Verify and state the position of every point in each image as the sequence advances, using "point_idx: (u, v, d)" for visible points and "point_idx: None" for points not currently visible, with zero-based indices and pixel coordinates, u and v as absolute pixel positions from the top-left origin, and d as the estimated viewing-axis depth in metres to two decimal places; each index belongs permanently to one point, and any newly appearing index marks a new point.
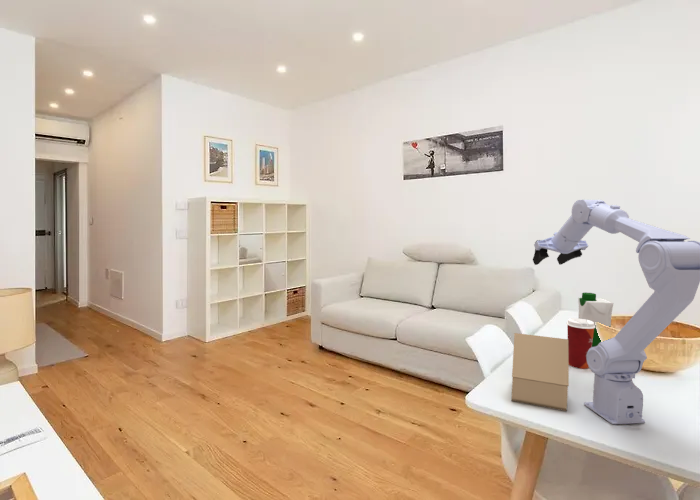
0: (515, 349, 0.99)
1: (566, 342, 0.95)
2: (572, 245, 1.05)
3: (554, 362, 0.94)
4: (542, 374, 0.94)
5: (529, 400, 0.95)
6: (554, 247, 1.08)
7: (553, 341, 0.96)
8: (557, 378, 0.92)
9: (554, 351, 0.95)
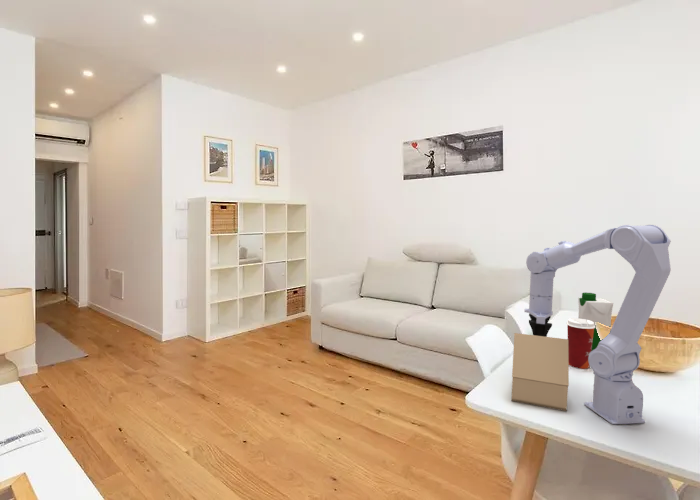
0: (515, 349, 0.99)
1: (566, 342, 0.95)
2: None
3: (554, 362, 0.94)
4: (542, 374, 0.94)
5: (529, 400, 0.95)
6: (545, 314, 1.05)
7: (553, 341, 0.96)
8: (557, 378, 0.92)
9: (554, 351, 0.95)
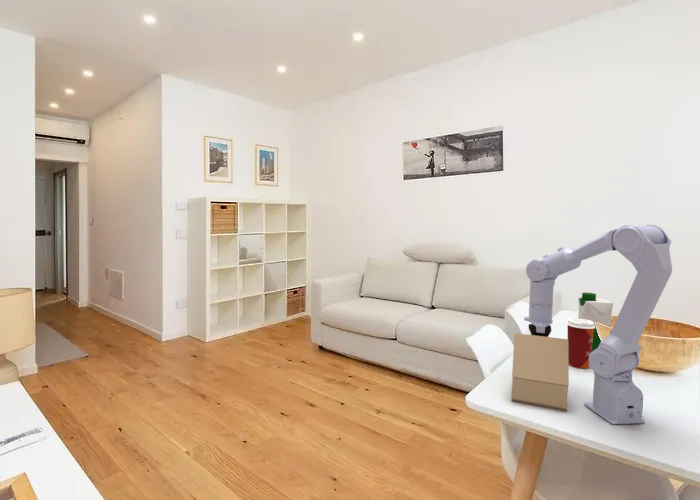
0: (515, 349, 0.99)
1: (566, 342, 0.95)
2: None
3: (554, 362, 0.94)
4: (542, 374, 0.94)
5: (529, 400, 0.95)
6: (545, 322, 1.04)
7: (553, 341, 0.96)
8: (557, 378, 0.92)
9: (554, 351, 0.95)
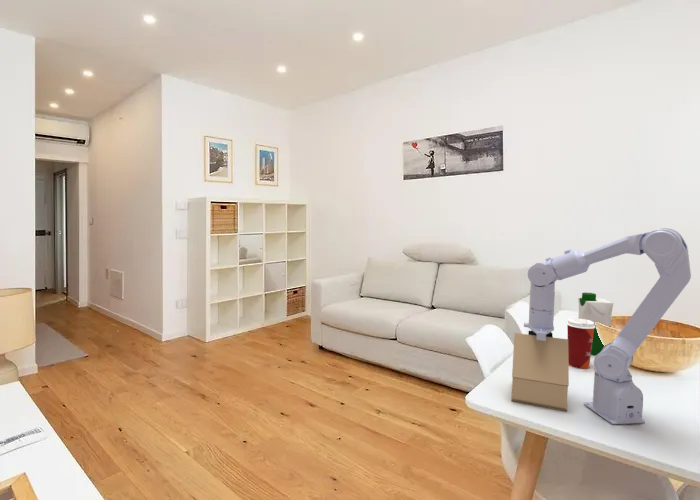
0: (515, 349, 0.99)
1: (566, 342, 0.95)
2: (553, 315, 0.99)
3: (554, 362, 0.94)
4: (542, 374, 0.94)
5: (529, 400, 0.95)
6: (546, 329, 0.98)
7: (553, 341, 0.96)
8: (557, 378, 0.92)
9: (554, 351, 0.95)
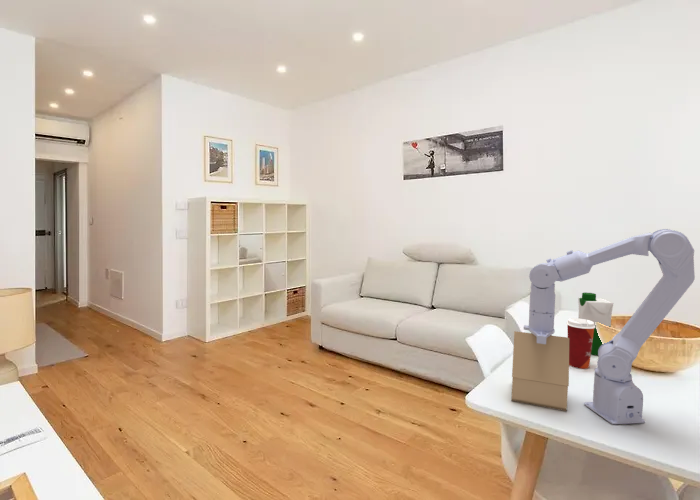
0: (515, 348, 0.97)
1: (567, 341, 0.93)
2: None
3: (554, 362, 0.93)
4: (543, 374, 0.93)
5: (529, 400, 0.95)
6: (546, 332, 0.95)
7: (553, 340, 0.95)
8: (557, 378, 0.92)
9: (555, 350, 0.94)
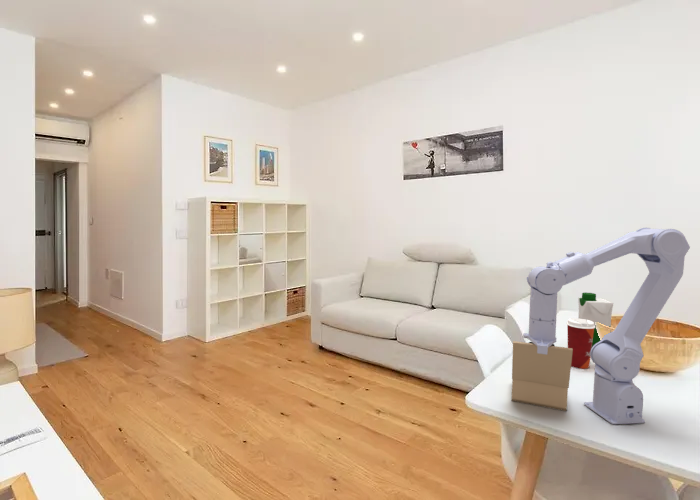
0: (514, 357, 0.93)
1: (570, 352, 0.86)
2: None
3: (555, 369, 0.90)
4: (543, 378, 0.92)
5: (529, 400, 0.95)
6: (548, 341, 0.89)
7: (555, 351, 0.88)
8: (557, 382, 0.91)
9: (556, 360, 0.89)
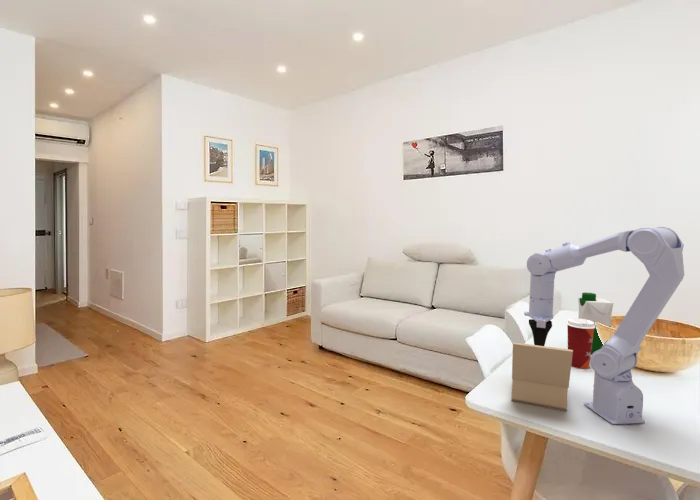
0: (514, 357, 0.92)
1: (570, 354, 0.86)
2: (552, 304, 1.03)
3: (555, 370, 0.90)
4: (543, 378, 0.92)
5: (529, 400, 0.95)
6: (546, 317, 1.02)
7: (555, 353, 0.87)
8: (557, 382, 0.91)
9: (556, 361, 0.88)
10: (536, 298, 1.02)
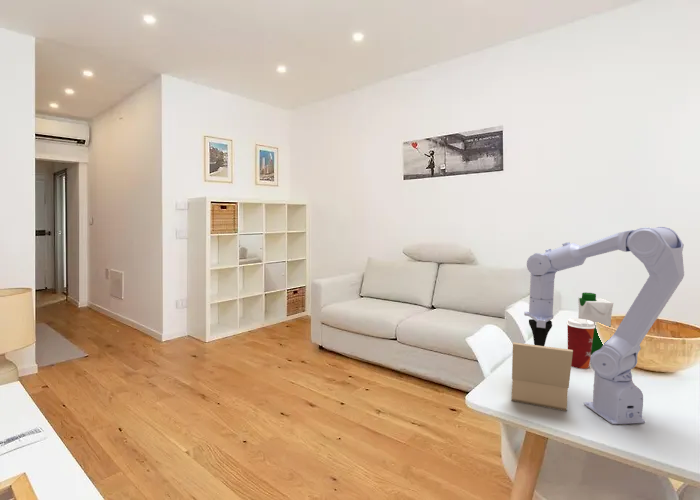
0: (514, 357, 0.92)
1: (570, 354, 0.86)
2: (552, 304, 1.03)
3: (555, 370, 0.90)
4: (543, 378, 0.92)
5: (529, 400, 0.95)
6: (546, 317, 1.02)
7: (555, 353, 0.87)
8: (557, 382, 0.91)
9: (556, 361, 0.88)
10: (536, 298, 1.02)
